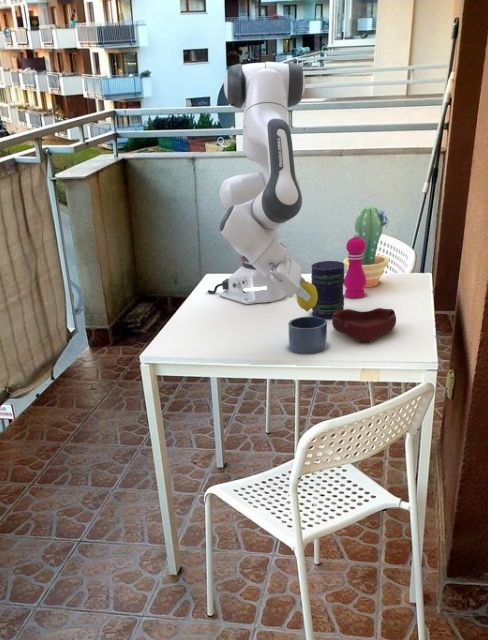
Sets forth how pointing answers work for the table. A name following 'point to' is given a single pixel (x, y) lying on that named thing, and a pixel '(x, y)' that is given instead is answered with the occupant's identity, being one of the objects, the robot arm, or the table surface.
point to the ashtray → (364, 323)
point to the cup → (307, 335)
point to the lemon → (313, 300)
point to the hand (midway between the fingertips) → (309, 294)
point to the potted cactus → (371, 243)
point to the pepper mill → (355, 268)
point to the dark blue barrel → (328, 288)
